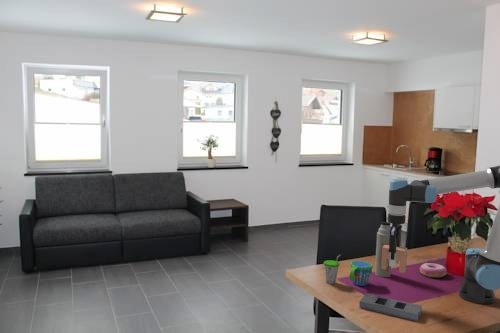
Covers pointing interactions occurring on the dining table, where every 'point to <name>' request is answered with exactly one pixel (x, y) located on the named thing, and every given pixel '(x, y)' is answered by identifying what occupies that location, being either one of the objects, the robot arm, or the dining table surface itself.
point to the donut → (433, 270)
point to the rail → (391, 307)
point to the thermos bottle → (382, 240)
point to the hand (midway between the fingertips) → (393, 264)
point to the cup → (331, 270)
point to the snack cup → (360, 272)
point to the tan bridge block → (400, 256)
